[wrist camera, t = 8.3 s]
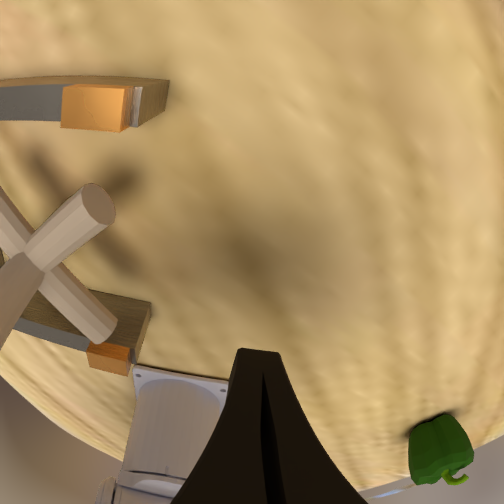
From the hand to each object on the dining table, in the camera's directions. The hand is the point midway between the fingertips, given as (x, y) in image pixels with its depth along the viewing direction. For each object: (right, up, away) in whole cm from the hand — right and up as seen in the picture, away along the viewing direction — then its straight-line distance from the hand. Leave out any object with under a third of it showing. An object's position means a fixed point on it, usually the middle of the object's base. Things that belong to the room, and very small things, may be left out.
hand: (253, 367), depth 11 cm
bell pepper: (+23, -18, +22) cm, 37 cm away
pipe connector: (-10, +6, +6) cm, 13 cm away
